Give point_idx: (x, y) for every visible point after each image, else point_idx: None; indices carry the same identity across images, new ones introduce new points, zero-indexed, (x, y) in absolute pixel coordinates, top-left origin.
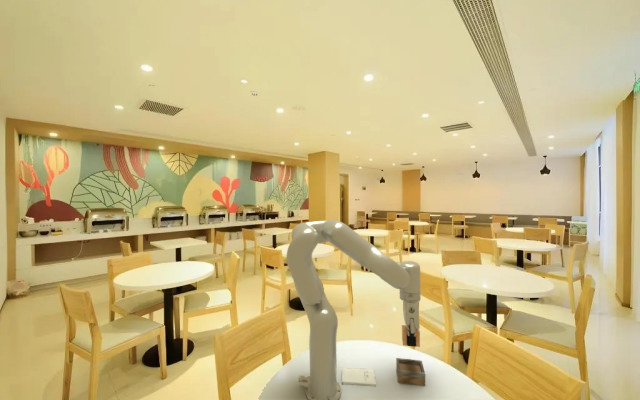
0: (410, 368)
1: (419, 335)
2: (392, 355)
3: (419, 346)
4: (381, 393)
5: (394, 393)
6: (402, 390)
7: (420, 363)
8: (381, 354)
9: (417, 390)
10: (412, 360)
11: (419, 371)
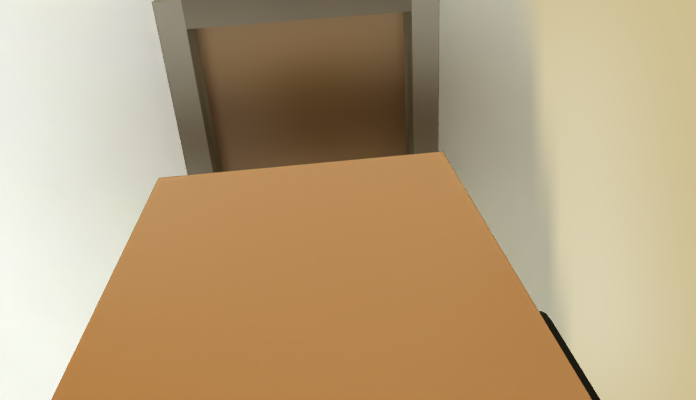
0: (291, 128)
1: (550, 333)
2: (13, 264)
3: (442, 162)
4: (551, 303)
5: (541, 224)
6: (500, 169)
7: (225, 22)
8: (49, 348)
9: (482, 46)
10: (195, 119)
11: (318, 32)
